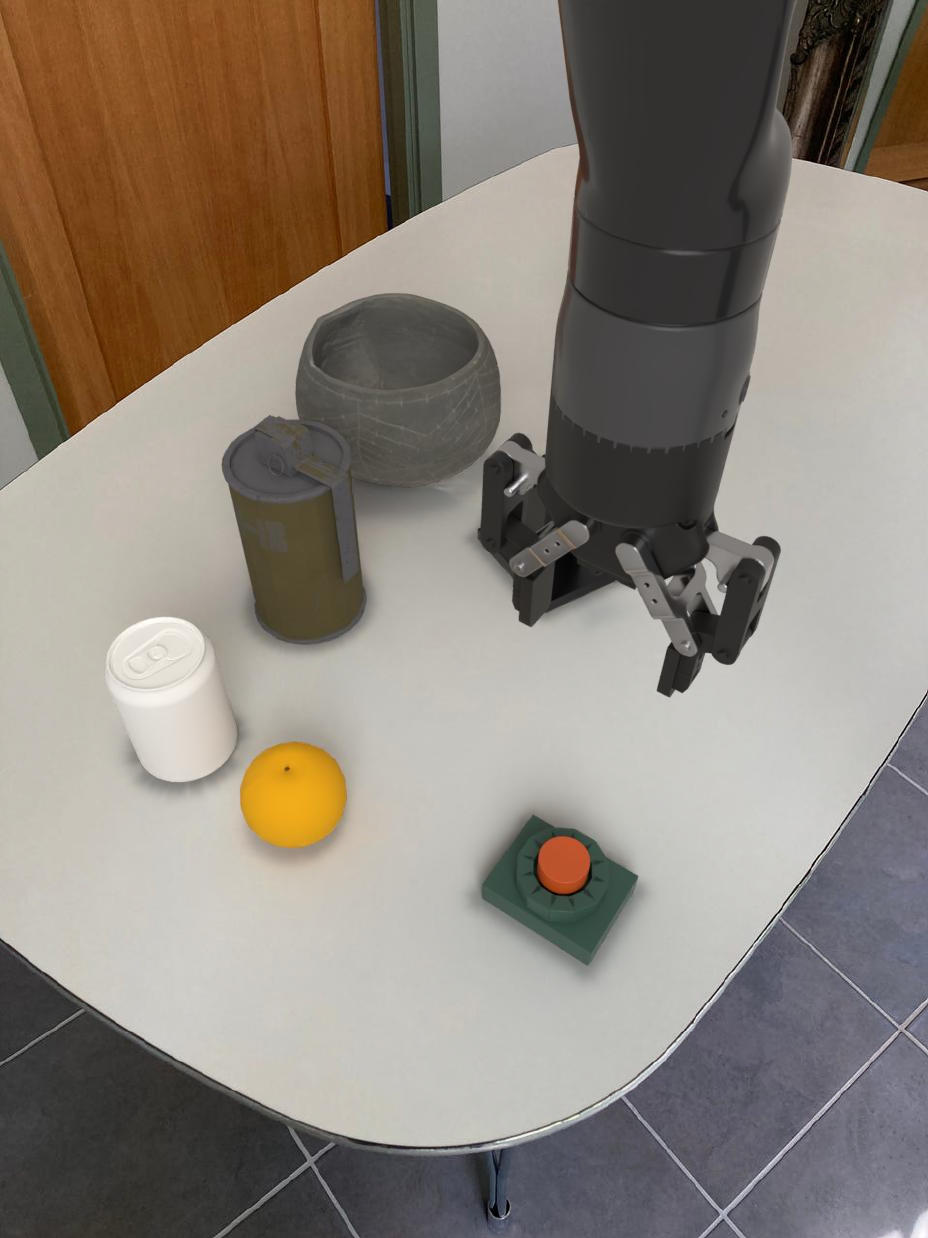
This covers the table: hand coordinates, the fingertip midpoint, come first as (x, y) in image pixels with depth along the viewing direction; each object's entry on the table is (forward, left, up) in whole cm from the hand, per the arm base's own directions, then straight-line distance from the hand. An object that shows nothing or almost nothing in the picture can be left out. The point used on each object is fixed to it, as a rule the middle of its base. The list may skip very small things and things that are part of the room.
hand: (601, 648), depth 50 cm
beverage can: (+32, +6, -28) cm, 43 cm away
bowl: (+40, -34, -28) cm, 60 cm away
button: (0, 0, -24) cm, 24 cm away
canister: (+34, -12, -28) cm, 46 cm away
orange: (+20, +6, -28) cm, 35 cm away
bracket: (+19, -30, -28) cm, 45 cm away
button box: (0, 0, -28) cm, 28 cm away
